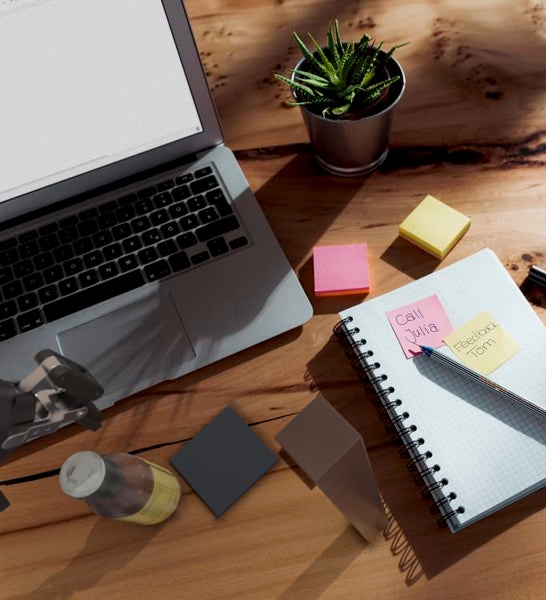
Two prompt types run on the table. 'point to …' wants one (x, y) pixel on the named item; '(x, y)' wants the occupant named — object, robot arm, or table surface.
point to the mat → (224, 461)
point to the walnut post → (336, 464)
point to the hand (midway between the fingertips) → (47, 459)
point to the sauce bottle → (121, 486)
